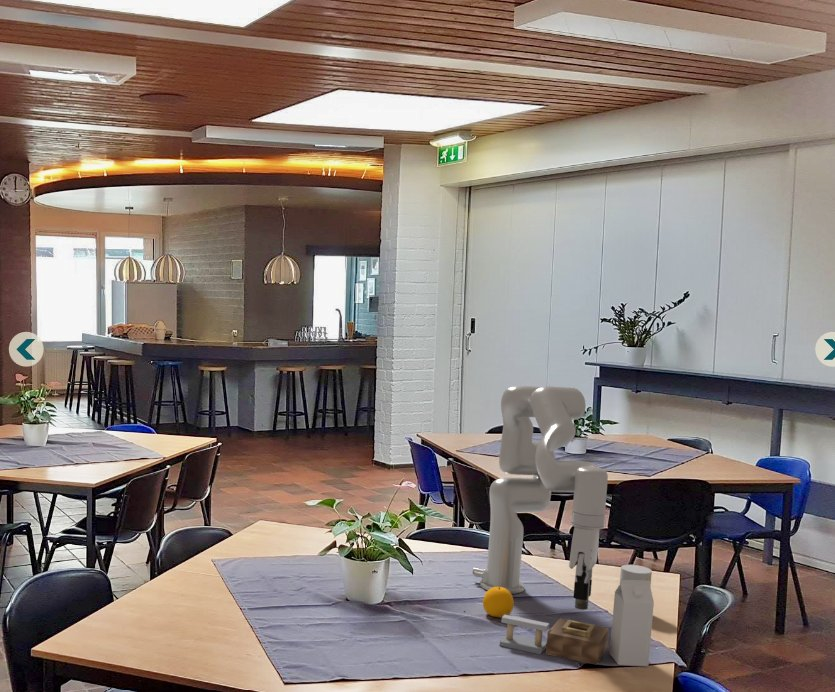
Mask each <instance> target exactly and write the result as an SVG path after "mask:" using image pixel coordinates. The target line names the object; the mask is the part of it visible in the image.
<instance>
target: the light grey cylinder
mask: <svg viewBox="0 0 835 692" xmlns="http://www.w3.org/2000/svg"><path fill="white" fill-rule="evenodd" d="M652 573H653V570H652V569H650V568H649V567H646V566H641V565H636V564H623V565H621V566H620V576H619V581H620V580H621V579H622V580H641V581H651V582H650V587H651V585H652V575H653V574H652Z"/></svg>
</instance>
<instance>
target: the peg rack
mask: <svg viewBox="0 0 835 692" xmlns="http://www.w3.org/2000/svg"><path fill="white" fill-rule="evenodd" d="M501 623H503V624H506V635H504V636H503V638H501V640H499V644H498V645H499V646H500V647H504V648H509V649H513V650H519V651H523V652H527V653H532V654H537V655H541V654H543V652H544V651H545V650H546V646H547V641H543V632H548V631H549V630H550V623H549V622H543V621H538V620H533V619H529V618H524V617H519V616H513V615H510V614H509V615H504V616H503V617H501ZM515 626H518V627H523V628H528V629H532V630H535V634H534V637H535V638H534V639H533V638H529V637H524V636H519V635H514V629H515Z"/></svg>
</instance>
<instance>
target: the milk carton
mask: <svg viewBox="0 0 835 692" xmlns="http://www.w3.org/2000/svg"><path fill="white" fill-rule="evenodd" d="M650 582H651V583H652V580H651V581H641V580H622V579H621V580H620V579H619V585H618V586H617V588H616V589H615V591H614V598H613V609H612V610H613V611H612V620H611V624H612V625H611V632H610V633H611V634H610V642H609V643H610V644H609V655H610V657H612V659H613V660H614V661H615V662H616V664H617V665H619V666H628V667H629V666H631V667H649V661H650V660H649V659H650V651H651V641H652V639H651V638H652V627H653V617H654V616H653V615H654V606H655V602H654V597H653V592H652V588H651V586H650Z"/></svg>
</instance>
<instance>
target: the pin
mask: <svg viewBox="0 0 835 692" xmlns="http://www.w3.org/2000/svg"><path fill="white" fill-rule="evenodd" d="M583 569H586V567H583ZM583 573H584V572H583ZM590 574H591V570H589V571H588V581H587V583H589V585H588V598H587V600H580V599H575V598H574V599H575V600H574V601H575V602H574V608H575V609H577V610H583V611H584V610H585V611H586V610H588V609H589V608H588V607H589V598H590V596H589V586H590ZM584 575H585V573H584Z"/></svg>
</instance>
